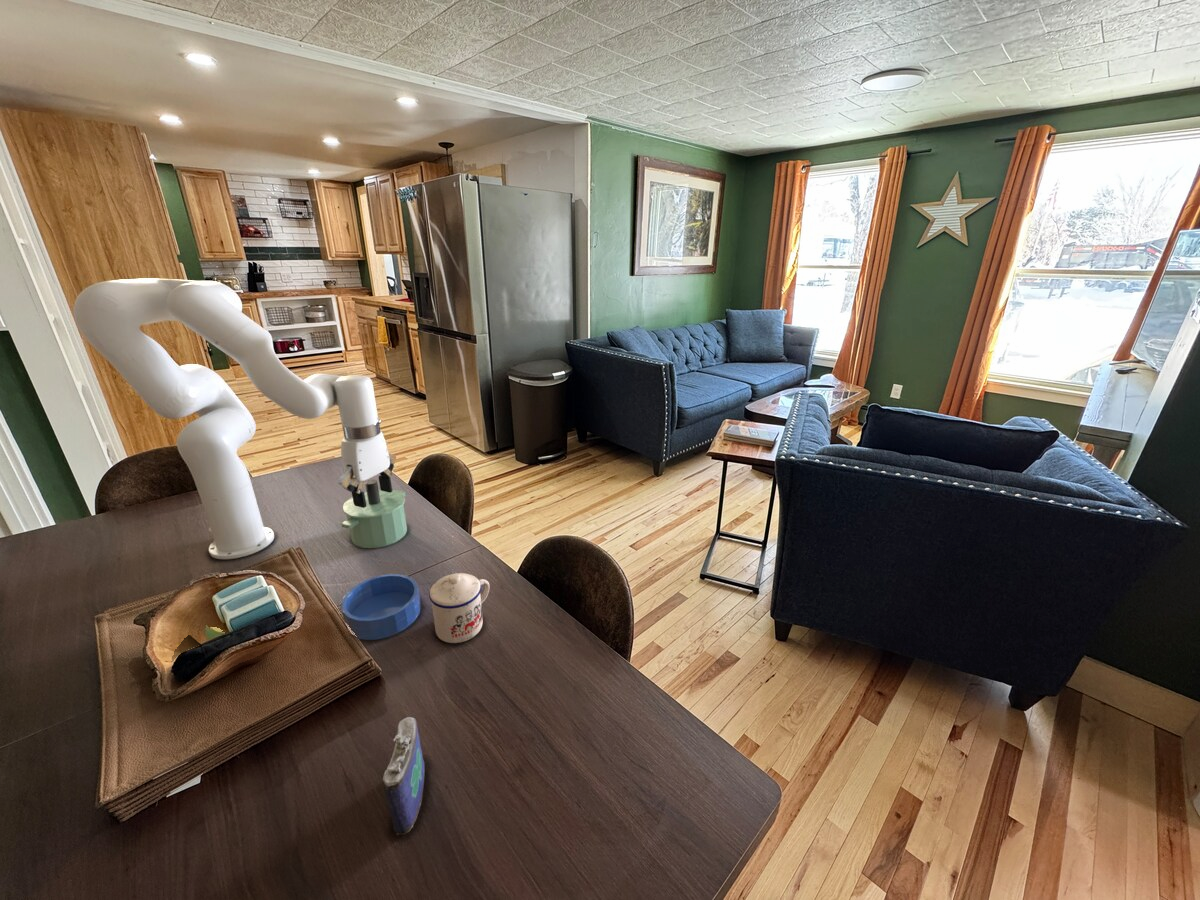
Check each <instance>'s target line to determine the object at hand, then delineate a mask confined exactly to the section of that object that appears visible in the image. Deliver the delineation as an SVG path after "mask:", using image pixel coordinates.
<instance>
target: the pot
mask: <svg viewBox="0 0 1200 900" xmlns="http://www.w3.org/2000/svg"><path fill="white" fill-rule="evenodd" d="M397 491H399V492H401V493H402V494H403V495H404V496H405V497H406V495H407V494H406V491H403V490H397ZM340 524H341V528H343V529H348V530H349V532H350V533H349V535H350V539H351V541H352V544H353V545H355V546H357V547H359V548H363V549H377V548H383V547H387V546H390V545H393V544H395V543H397V542H398V541H400V540H401V539H403V538H404V537H405V536H406V534H407V532H408V526H407V518H406V512H405V505H404V504H403V505H402V506H401V507H400V508H399V509H398V510H396V511H394V512H392V513H389V514H387V515H384V516H380V517H375V518H353V517H350V516H347V515H346V520H345V521H342V522H341V523H340Z"/></svg>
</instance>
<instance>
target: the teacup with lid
mask: <svg viewBox="0 0 1200 900" xmlns="http://www.w3.org/2000/svg"><path fill="white" fill-rule="evenodd" d="M482 586H483V591H482ZM490 587H491V586H490V582H489V581H488V580H487V579H483V578H481V579H478V578H477V577H476V576H474V575H472V574H470V573H464V572H459V573H458V572H457V573H456V572H455V573H452V574H448V575H445V576H443V577H440V578H439V579H438V580H437V581H435V582H434V584H433V585H432V586H431V587H430V591H429V595H428V596H429V601H430V602H431V610H432V616H433V623H434V631H435V634H436V636H437V637H438V639H440V640H441V641H442V642H445V643H449V644H459V643H463V642H466V641H469V640H471V639H473V638H475V636H476V635H478V634H479V632H480V631H481V629H482V627H483V625H484V624H483V623H484V622H483V621H484V620H483V609H482V608H483V607H482V604H483V603H484V602H485V600H486V599H487V597H488V595H489V593H490ZM481 591H482V592H481Z"/></svg>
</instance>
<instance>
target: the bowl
mask: <svg viewBox="0 0 1200 900" xmlns="http://www.w3.org/2000/svg"><path fill="white" fill-rule="evenodd" d="M340 607H341V612H342V617H343V621H344V620H345V621H344V623H345V622H346V623H347V624H348V625H349V627H350V628H351V630H352V631H353V632H354V633H355V635H356V636H357V638H356V639H358V640H359V639H360V640H364V641H375V640H382V639H386V638H390V637H393V636H395V635H397V634H399V633H400V632H402V631H404V630H406V629H407V628H409V627H410V626H411V625H412V624H413V623H414V622H415V621H416V620H417V618H418V616H419V615H420V613H421V609H422V608H421V607H422V605H421V596H420V589H419V586H418V583H417V582H416V580H414V578H412V577H410V576H409V575H405V574H400V573H387V574H380V575H376V576H373V577H370V578H367V579H365V580H363V581H361V582H359V583H357V584H356V585H354V586H353V587H352V588H350V589H349V590H348V591H347V593H346V594H345V595H344V596H343V598H342V601H341V603H340Z"/></svg>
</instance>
